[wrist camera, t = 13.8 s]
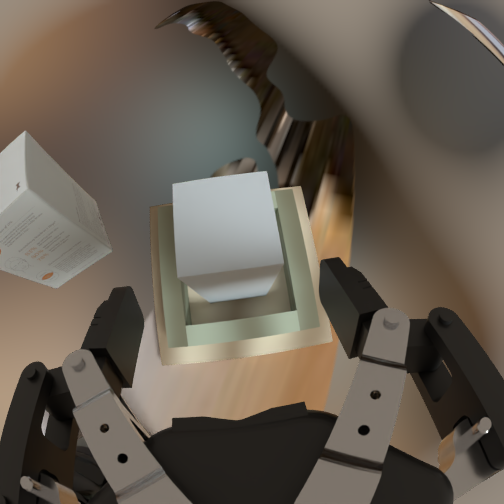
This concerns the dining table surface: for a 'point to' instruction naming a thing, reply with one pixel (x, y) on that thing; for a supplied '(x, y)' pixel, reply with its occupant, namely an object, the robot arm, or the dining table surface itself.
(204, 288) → the block
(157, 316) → the cradle jig
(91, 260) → the small box
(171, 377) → the dining table surface
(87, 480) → the supplement container
